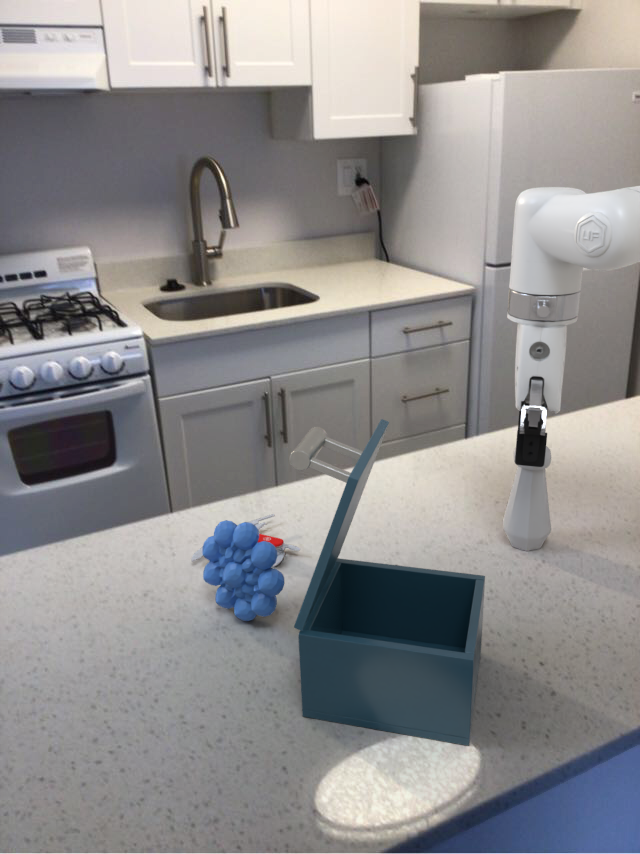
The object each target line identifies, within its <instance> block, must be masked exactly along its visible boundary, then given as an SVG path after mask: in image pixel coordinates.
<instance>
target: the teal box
mask: <svg viewBox="0 0 640 854" xmlns="http://www.w3.org/2000/svg"><path fill="white" fill-rule="evenodd" d="M485 584H486V575H482V574H474V573H465V572H457V571H448V570H440V569H432V568H425V567H423V568H422V567H416V566H406V565H398V564H389V563H381V562H373V561H365V560H364V561H363V560H355V559H347V558H339V557H338V558H337V560H336V562H335V564H334V567H333V569H332V571H331V573H330V575H329V577H328V579H327V581H326V583H325V585H324V587H323V589H322V591H321V594H320V596H319V598H318V600H317V602H316V604H315V606H314V608H313V610H312V612H311V614H310V616H309V618H308V621H307V623H306V625H305V627H304V629H303V631H300V630H299V632H298V634H297V635H298V654H299V655H298V656H299V674H300V691H301V692H300V695H301V713H302V715H301V716H302V717H303V718H309V719H313V720H314V719H315V720H321V721H325V722H332V723H338V724H343V725H349V726H355V727H359V728H366V729H371V730H377V731H383V732H388V733H393V734H400V735H405V736H410V737H411V736H412V737H417V738H423V739H428V740H434V741H440V742H445V743H451V744H456V745H462V746H467V747H468V746H469V747H470V743H471V736H472V735H471V734H472V726H473V718H474V711H475V704H476V703H475V701H476V696H477V695H476V694H477V687H478V678H479V670H480V662H481V655H482V640H483V624H484V623H483V621H484V603H485V602H484V601H485V586H486V585H485Z"/></svg>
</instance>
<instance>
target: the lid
mask: <svg viewBox="0 0 640 854" xmlns="http://www.w3.org/2000/svg"><path fill="white" fill-rule="evenodd" d="M389 425H390V421H388V420H385V419H383V418H380V420H379V422H378V424H377V426H376V428H375V429H374V431H373V433H372V434H371V436H370V438H369V440H368V441H367V443H366V445H365V447H364V449H363V450H360V449H358V448H356V447H353V446H351V445H348V444H345V443H343V442H340V441H338V440H335V439H333V438H330V437H329V436H328V433H327V432H326V430H325V429H324V428H322V427H320V426H313V427H311V428H310V429H309V430H308V431H307V432H306V434H305V435H304V437H303V438H302V439H301V440H300V442H299V443H298V444H297V445H296V447H295V448H294V450H292V452H290V454H289V458H288V459H289V460H288V461H289V464H290V466H291V467H292V468H293V469H295V470H297V471H299V472H300V471H301V472H303V471H306V470H307V469H312V470H314V471H317V472H319V473H321V474H323V475H326V476H329V477H331V478H334V479H336V480H339V481H341V482H343V483H345V486H344V488H343V491H342V495H341V497H340V499H339V502H338V505H337V508H336V510H335V513H334V515H333V519H332V521H331V525H330V527H329V530H328V533H327V535H326V537H325V540H324V543H323V546H322V548H321V552H320V554H319V558H318V560H317V562H316V565H315V568H314V571H313V574H312V576H311V579H310V581H309V584H308V587H307V590H306V593H305V595H304V598H303V601H302V604H301V606H300V609H299V612H298V615H297V618H296V620H295V622H294V625H293V629H296V630H299V632H300V631H303V629H304V627H305V625H306V623H307V621H308V618H309V616H310V614H311V612H312V610H313V608H314V606H315V604H316V602H317V600H318V598H319V596H320V594H321V591H322V589H323V587H324V585H325V583H326V581H327V579H328V577H329V575H330V573H331V571H332V569H333V567H334V564H335V562H336V560H337V558H339V556H340V553H341V551H342V550H343V549H342V548H343V545H344V543H345V541H346V537H347V536H348V533H349V530H350V527H351V524H352V522H353V519H354V517H355V514H356V512H357V510H358V507H359V504H360V502H361V498H362V496H363V493H364V490H365V489H366V488H365V487H366V485H367V482H368V481H369V478H370V475H371V472H372V469H373V467H374V464H375V461H376V458H377V456H378V454H379V451H380V448H381V446H382V443H383V440H384V439H385V435H386V433H387V430H388V428H389ZM322 448H326V449H328V450H331V451H333V452H336V453H338V454H341V455H342V456H345V457H347V458H350V459H353V460H354V461H355V460H356V463H355V465H354V467H353V468H352V470H351V472H350V471H347V470H345V469H343V468H340V467H338V466H335V465H334V464H330V463H328V462H325V461H323V460H320V459H319V458H317V456H318V455H319V453H320V451H321V450H322Z"/></svg>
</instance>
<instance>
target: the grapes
mask: <svg viewBox="0 0 640 854" xmlns="http://www.w3.org/2000/svg"><path fill="white" fill-rule="evenodd" d="M248 522H249V521H244V522H241V523H239V524H236V523H235V522H234V521H232V520H226V519H225V520H222V521H219V523H218V524H217V525H216V526H215V527H214V531H213V535H211V536H208V537H207V538H206V539H205V540H204V542H203V544H202V546H201V547H202V554H203V556H202V557H203V558H204V559H206V560H207V561H208V562H207V563H206V564H205V565H204V568H203V572H202V577H203V581H204V582H205V583H207V584H208V585H210V586H214V587H217V589H216V591H215V599H214V600H215V603H216V604H217V605H218V606H219V607H221V608H222V609H226V610H229V609H233V612H234V616H235V617H236V618H238V619H239V620H241V621H244V622H249V621H253V620H254V619H255V618H256V617H257V616H258V617H263V618H265V617H268V616H271V615H272V614H273V613H274V612H275V611H276V608H277V604H278V600H277V599H278V598H277V596H278V595H279V594H280V593H282V591H283V589H284V586H285V576H284V574H283V573H282V572H281V571H280V570H279V569H277V568H274V567H272V566H273V565H274V564H275V563H276V560H277V549H276V547H275V546H274V545H273V544H271V543H270V542H266V541H262V542H259V543H258V540H259V534H260V530H258V528H257V527H256V526H255V525H253V524H252V523H248ZM237 525H238V526H237ZM218 586H219V587H218Z"/></svg>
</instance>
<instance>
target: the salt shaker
mask: <svg viewBox="0 0 640 854" xmlns="http://www.w3.org/2000/svg"><path fill="white" fill-rule="evenodd" d="M551 451H552V450H551V449H550V447H548V446H547V445H546V452H545V463H544V466H543V467H534V466H523V465H517V464H515V465H516V466H517V468H516V471H515V475H514V478H513V482H512V485H511V489H510V493H509V496H508V500H507V504H506V507H505V509H504V510H505V511H504V515H503V519H502V528H503V532H504V533H505V535H506V537H507V539H508V541H509V543H510V545H511V547H512V548H515V549H519V550H522V551H525V552H528V551H529V552H531V551H535V550H540V549H541V548H542V546H543V545H544V543H545V541H546V540H547V538H548V537H549V535H551V532H552V524H551V515H550V503H549V493H548V483H547V473H546V469H547V468H548V467H550V465H551V464H552V463H551V462H552V452H551ZM515 453H516V447H515V448H514V451H513V461H514V463H515Z"/></svg>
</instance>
